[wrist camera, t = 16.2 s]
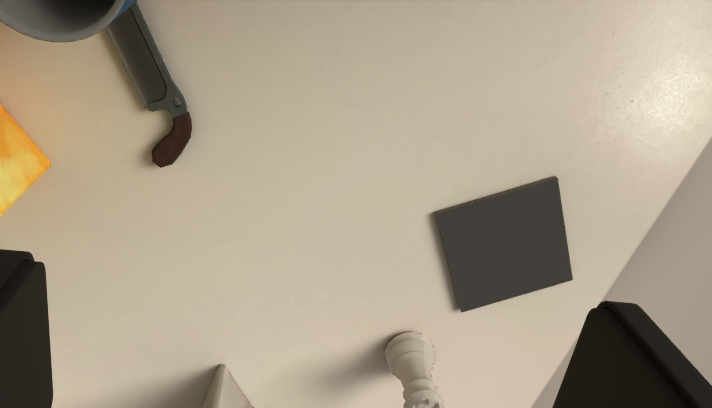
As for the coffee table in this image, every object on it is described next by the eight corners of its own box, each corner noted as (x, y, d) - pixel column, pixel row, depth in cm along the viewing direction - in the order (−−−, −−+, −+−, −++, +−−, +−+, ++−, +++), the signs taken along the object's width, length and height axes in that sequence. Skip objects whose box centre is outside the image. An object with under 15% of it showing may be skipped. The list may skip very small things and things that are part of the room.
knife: (208, 150, 44) (207, 153, 43) (158, 167, 44) (156, 170, 44) (118, -47, 38) (115, -46, 37) (60, -26, 38) (56, -25, 38)
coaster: (434, 211, 48) (436, 214, 48) (555, 175, 48) (557, 178, 47) (459, 309, 53) (461, 312, 52) (570, 277, 52) (572, 280, 52)
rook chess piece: (400, 321, 52) (417, 384, 45) (442, 339, 54) (465, 403, 46) (374, 358, 54) (387, 425, 47) (416, 375, 55) (434, 443, 48)
